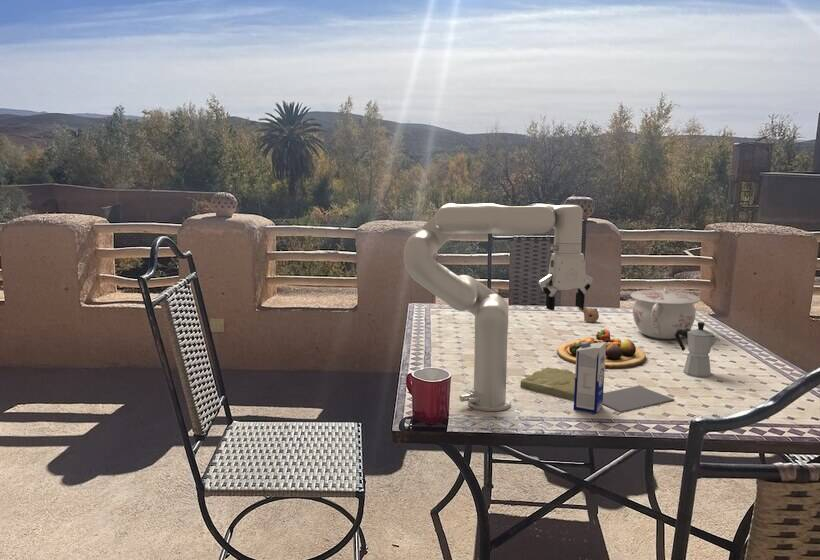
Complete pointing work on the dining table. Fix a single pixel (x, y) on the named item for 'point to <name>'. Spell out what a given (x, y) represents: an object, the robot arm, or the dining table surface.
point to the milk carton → (589, 377)
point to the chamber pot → (663, 312)
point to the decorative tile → (551, 382)
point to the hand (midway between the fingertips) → (565, 308)
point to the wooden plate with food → (615, 352)
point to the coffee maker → (697, 350)
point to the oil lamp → (590, 314)
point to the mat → (632, 398)
